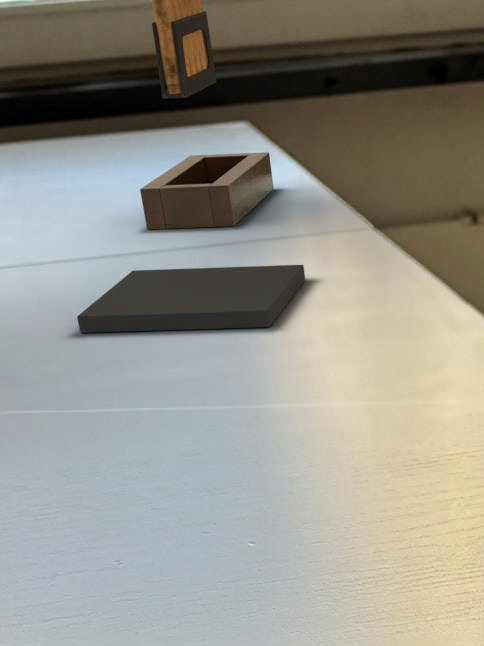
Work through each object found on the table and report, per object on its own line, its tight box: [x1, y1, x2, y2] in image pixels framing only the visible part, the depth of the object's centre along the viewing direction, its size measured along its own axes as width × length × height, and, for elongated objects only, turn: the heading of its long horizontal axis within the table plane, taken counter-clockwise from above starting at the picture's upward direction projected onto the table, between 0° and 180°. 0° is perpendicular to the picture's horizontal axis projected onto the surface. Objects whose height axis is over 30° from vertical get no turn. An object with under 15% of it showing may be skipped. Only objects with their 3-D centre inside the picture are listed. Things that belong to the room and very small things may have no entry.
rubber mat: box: [76, 264, 306, 334], centre depth 88 cm, size 12×12×1 cm
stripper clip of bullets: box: [151, 0, 217, 100], centre depth 107 cm, size 11×2×12 cm, turn 176°
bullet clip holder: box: [139, 151, 275, 230], centre depth 114 cm, size 7×16×3 cm, turn 175°
